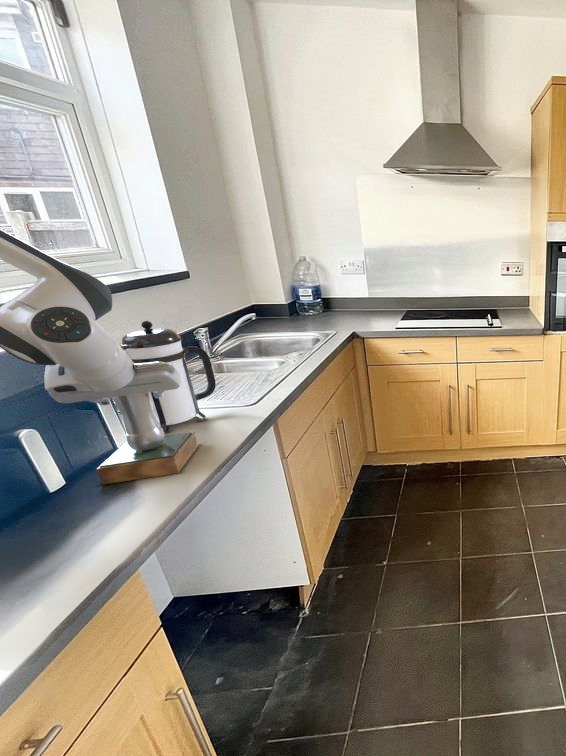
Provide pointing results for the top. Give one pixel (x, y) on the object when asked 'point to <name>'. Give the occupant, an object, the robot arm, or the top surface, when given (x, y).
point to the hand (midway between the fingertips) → (133, 398)
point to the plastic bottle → (140, 421)
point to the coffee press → (169, 350)
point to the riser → (148, 459)
